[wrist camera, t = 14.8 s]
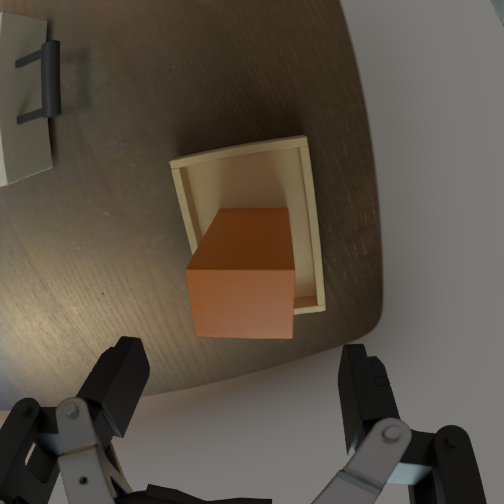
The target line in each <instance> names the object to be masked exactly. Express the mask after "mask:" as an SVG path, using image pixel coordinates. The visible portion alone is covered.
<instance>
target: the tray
mask: <svg viewBox="0 0 504 504" xmlns="http://www.w3.org/2000/svg"><path fill="white" fill-rule="evenodd" d="M170 166H171V169H172V170H171V171H172V175H173V179H174V183H175V188H176V192H177V196H178V200H179V204H180V208H181V212H182V216H183V220H184V224H185V228H186V231H187V235H188V239H189V243H190V247H191V250H192V254H193V255H194V253H195V251H196V249H197V248H198V246H199V244H200V242H201V240H202V238H203V237H204V235H205V233H206V231H207V230H208V228H209V226H210V224H211V222H212V221H213V219H214V217H215V215H216V214H217V212H218V210H219V209H225V208H288V209H289V217H290V226H291V234H292V243H293V252H294V261H295V297H294V314H303V313H310V312H318V311H325V310H326V307H325V293H324V280H323V268H322V257H321V246H320V236H319V226H318V217H317V209H316V200H315V192H314V184H313V176H312V169H311V162H310V155H309V148H308V141H307V137H306V136H305V135H299V136H291V137H284V138H277V139H270V140H264V141H258V142H252V143H246V144H240V145H234V146H229V147H224V148H218V149H213V150H208V151H203V152H198V153H194V154H189V155H185V156H180V157H177V158H175V159H173V160H171V161H170Z"/></svg>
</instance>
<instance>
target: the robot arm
mask: <svg viewBox="0 0 504 504" xmlns="http://www.w3.org/2000/svg"><path fill="white" fill-rule="evenodd" d="M149 373H150V366H149V362H148V359H147V356H146V353H145V350H144V347H143V344H142V341H141V339H140V338H136V337H127V336H122V337H121V338H120V339H119V341H118V342H117V344H116V346H115V347H110V348H109V349H107V350H106V351H105V352H104V353H102V355H101V356H100V358H99V359H98V361H97V364H96V365H95V366H94V367H93V369H92V372H90V374H89V376H88V377H87V379H86V381H85V382H84V384H83V386H82V387H81V389H80V391H79V392H78V394H77V396H76V397H71V398H67V399H65V400H63V401H62V402H61V403H60V404H59V405H58V406H57V407H41V406H40V405H39V403H38V402H37V401H36V400H35V399H33V398H24V399H21V400H20V401H18V402H17V403H16V404H15V405H14V407H13V409H12V410H11V412H10V414H9V415H8V417H7V419H6V420H5V422H4V424H3V426H2V427H1V429H0V504H48V501H49V499H50V496H51V493H52V490H53V488H54V485H55V483H56V480H57V477H58V475H59V473H60V472H61V476H62V480H63V484H64V488H65V492H66V495H67V499H68V503H69V504H272V499H256V498H233V499H225V500H215V501H205V500H201V499H199V498H196V497H194V496H191V495H189V494H186V493H183V492H181V491H179V490H176V489H171V488H165V487H161V486H156V485H151V484H148V486H147V489H146V490H144V491H136V492H133V490H132V489H131V487H130V485H129V484H128V482H127V480H126V478H125V476H124V474H123V471H122V469H121V466H120V464H119V461H118V459H117V456H116V453H115V451H114V448H113V445H112V443H111V439H112V437H113V436H117V437H121V438H123V437H124V434H125V432H126V430H127V427H128V425H129V422H130V420H131V418H132V415H133V413H134V411H135V408H136V406H137V403H138V401H139V399H140V397H141V394H142V392H143V390H144V387H145V385H146V383H147V380H148V378H149ZM338 389H339V396H340V402H341V410H342V417H343V425H344V432H345V441H346V449H347V455H353V456H352V457H351V459H350V460H349V462H348V463H347V464H346V465H345V467H344V468H343V469H342V470H339V472H337V474H336V475H335V476H334V477H333V478H332V480H331V481H330V482H329V483H328V485H327V486H326V487H325V488H324V489H323V491H322V492H321V493H320V494H319V495H318V496H317V497H316V498H315V500H314V501H313V502H312V503H311V504H374V502H375V501H376V499H377V498H378V496H379V495H380V493H381V492H382V490H383V487H384V486H385V484H386V482H390V483H399V484H406V485H408V490H409V499H410V504H487V503H486V499H485V494H484V490H483V486H482V481H481V478H480V473H479V470H478V466H477V462H476V458H475V455H474V451H473V448H472V445H471V441H470V438H469V436H468V434H467V432H466V431H465V430H464V429H462V428H461V427H458V426H455V425H448V426H444V427H442V428H441V429H439V430H438V431H437V433H427V432H419V431H415V430H412V429H410V428H409V426H408V425H407V424H406V423H405V422H403V421H402V420H401V419H400V417H399V413H398V409H397V406H396V403H395V399H394V396H393V392H392V389H391V386H390V382H389V379H388V378H387V373H386V369H385V366H384V365H383V363H382V362H381V361H380V360H379V359H378V358H377V357H376V356H372V357H367V354H366V350H365V347H364V345H363V344H347V345H344V346H343V350H342V355H341V361H340V366H339V372H338ZM33 443H34V444H35V445H36V446H35V448H34V450H33V452H32V454H31V456H30V458H29V461H28V463H27V465H25V459H26V457H27V455H28V452H29V450H30V448H31V446H32V444H33Z"/></svg>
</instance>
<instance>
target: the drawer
mask: <svg viewBox="0 0 504 504" xmlns="http://www.w3.org/2000/svg"><path fill="white" fill-rule="evenodd" d="M46 30H47V21H45V20H41V19H37V18H33V17H28V16H23V15H19V14H13V13H8V12H1V13H0V187H2V186H6V185H9V184H12V183H14V182H17V181H19V180H21V179H24V178H26V177H29V176H32V175H34V174H37V173H39V172H42V171H45V170H47V169H50V168H53V164H52V157H51V149H50V140H49V130H48V118H50V117H55V116H58V115H61V114H62V112H61V94H60V41H57V40H53V41H48V42H46Z"/></svg>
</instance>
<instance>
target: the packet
mask: <svg viewBox="0 0 504 504" xmlns="http://www.w3.org/2000/svg"><path fill="white" fill-rule="evenodd" d="M186 276H187V282H188V289H189V296H190V302H191V308H192V314H193V320H194V326H195V332H196V336H200V337H223V338H268V339H292V338H293V322H294V297H295V261H294V252H293V243H292V234H291V226H290V217H289V209H288V208H225V209H219V210H218V212H217V214H216V215H215V217H214V219H213V221H212V222H211V224H210V226H209V228H208V230H207V231H206V233H205V235H204V237H203V238H202V240H201V242H200V244H199V246H198V248H197V249H196V251H195V253H194V255H193V257H192V258H191V260H190V262H189V264H188V266H187V268H186Z"/></svg>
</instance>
